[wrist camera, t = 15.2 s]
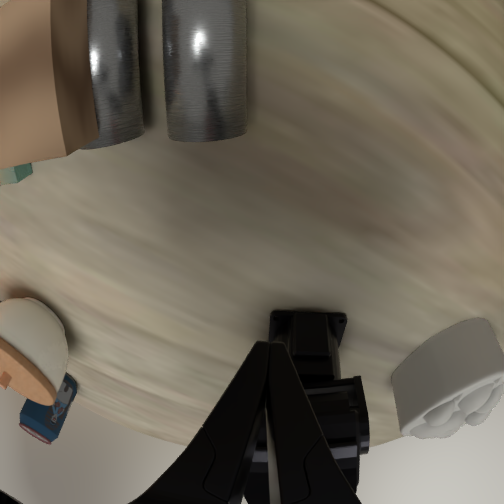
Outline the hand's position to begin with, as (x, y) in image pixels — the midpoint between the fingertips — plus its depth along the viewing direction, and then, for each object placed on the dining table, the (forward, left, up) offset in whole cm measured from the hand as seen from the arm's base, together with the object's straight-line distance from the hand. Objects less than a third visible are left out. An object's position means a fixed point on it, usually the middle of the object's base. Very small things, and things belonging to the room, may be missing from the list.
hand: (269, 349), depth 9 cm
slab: (+9, +16, -8) cm, 20 cm away
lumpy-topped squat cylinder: (-18, -20, -13) cm, 30 cm away
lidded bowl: (-17, +28, -13) cm, 35 cm away
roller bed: (+9, +15, -12) cm, 21 cm away
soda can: (-32, +33, -13) cm, 48 cm away
